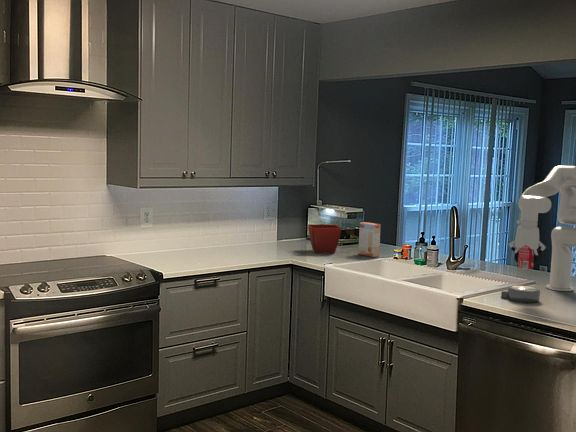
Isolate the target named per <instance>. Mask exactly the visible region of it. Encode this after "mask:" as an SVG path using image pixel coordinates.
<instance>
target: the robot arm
mask: <svg viewBox="0 0 576 432" xmlns="http://www.w3.org/2000/svg"><path fill="white" fill-rule="evenodd" d="M558 193H560V201H559V206H558V213H557V221H558V222H559V223H560V224H563V225H571V226H576V165H557V166H554V167H553V168H551V170H550V171H549V173H548V174H547V175H546V176H545V178H544V180H542V181H541V182H537V183H535V184H534V185H532V186H529V187H528V188H526V189H525V190H524V191H523V193H522V194H521V196H520V197H519V199H518V203H517V204H518V208H519V210H520V216H519V217H520V219H519V220H516V224H518V226H517V228H516V233H515V239H514V240H512V241H511V242H509V243H508V246H509V248H510V249H511V250H512V251H513V253H514V261H515V263H518V250H519V248H521V247H523V246H525V244H528V245H527V246H529V247H530V248H531V249H532V250H534V253H535V255H534V261H533V264H534V265H536V264H537V263H538V260H539V259H538V257H539V255H540V254H541V253H543V251H545V249H546V248H547V247H546V245H544V243H542V242H541V241H540V229H539V227H538V224H539V223H538V221H539V214H545V213H548V212H549V211H550V210H551V209H552V201H551V199H550V198H548V197H551V196H554V195H557V194H558ZM550 238H551V261H550V275H549V283H548V284H546V285H545V287H546V288H547V289H548V290H552V291H558V292H572V291H574V287H573V286H571V278H572V266H573V264H572V263H573V253H572V251H571V248H576V227H569V226H556V227H554V228H553V229H551V233H550ZM539 247H541V248H539ZM538 248H539V250H538Z"/></svg>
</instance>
